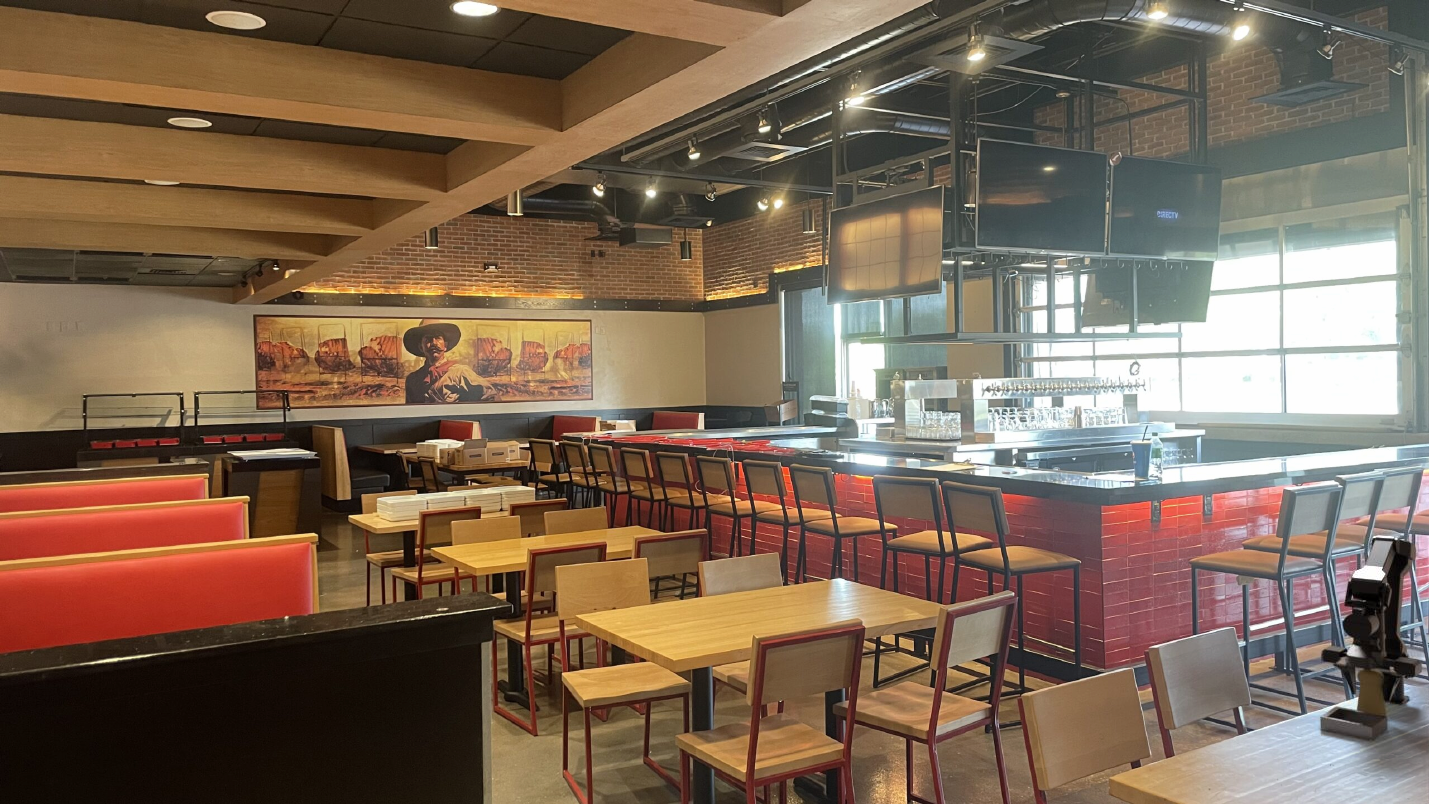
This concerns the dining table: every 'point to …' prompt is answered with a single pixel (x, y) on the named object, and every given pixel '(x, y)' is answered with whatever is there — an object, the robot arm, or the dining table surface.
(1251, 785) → the dining table surface
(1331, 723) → the socket frame
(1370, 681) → the cork
